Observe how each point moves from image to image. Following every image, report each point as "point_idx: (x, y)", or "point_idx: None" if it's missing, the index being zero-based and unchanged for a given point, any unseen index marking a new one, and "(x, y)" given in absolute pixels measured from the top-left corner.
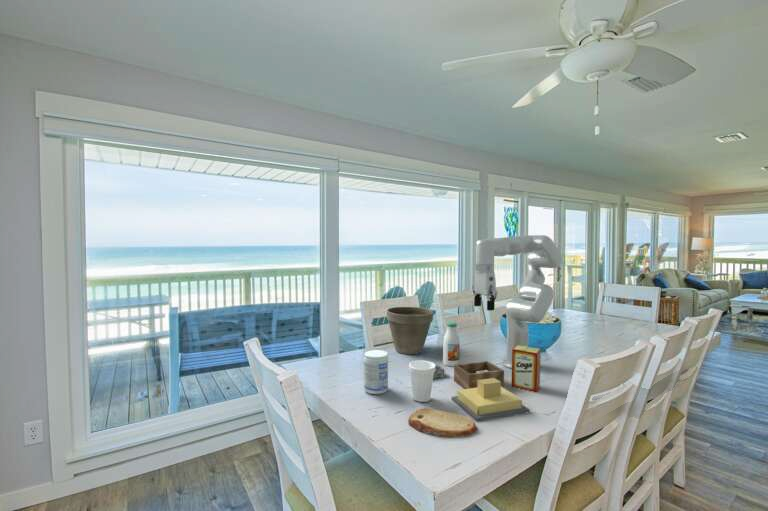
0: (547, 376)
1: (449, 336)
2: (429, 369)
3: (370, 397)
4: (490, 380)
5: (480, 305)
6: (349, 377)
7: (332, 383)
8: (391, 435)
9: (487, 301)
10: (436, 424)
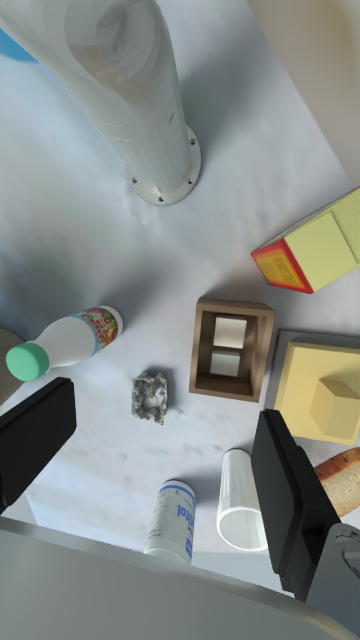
0: (261, 137)
1: (72, 362)
2: None
3: (198, 509)
4: (343, 413)
5: (71, 386)
6: (118, 500)
7: (132, 525)
8: None
9: (289, 579)
10: (338, 503)
